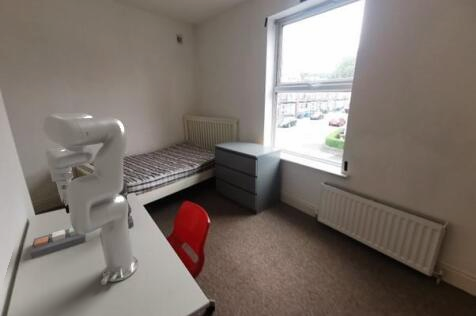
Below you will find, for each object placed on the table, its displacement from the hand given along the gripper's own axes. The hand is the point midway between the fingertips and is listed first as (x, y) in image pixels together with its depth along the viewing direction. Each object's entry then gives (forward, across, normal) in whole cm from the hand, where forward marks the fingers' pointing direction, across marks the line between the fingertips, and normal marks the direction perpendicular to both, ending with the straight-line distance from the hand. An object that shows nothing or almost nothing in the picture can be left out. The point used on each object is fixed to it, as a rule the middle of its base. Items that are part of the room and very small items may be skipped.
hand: (70, 211), depth 101 cm
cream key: (+13, 0, +6) cm, 14 cm away
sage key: (+12, 0, 0) cm, 12 cm away
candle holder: (+14, -4, -22) cm, 26 cm away
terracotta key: (+13, 0, +12) cm, 18 cm away
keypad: (+14, 0, +6) cm, 16 cm away
